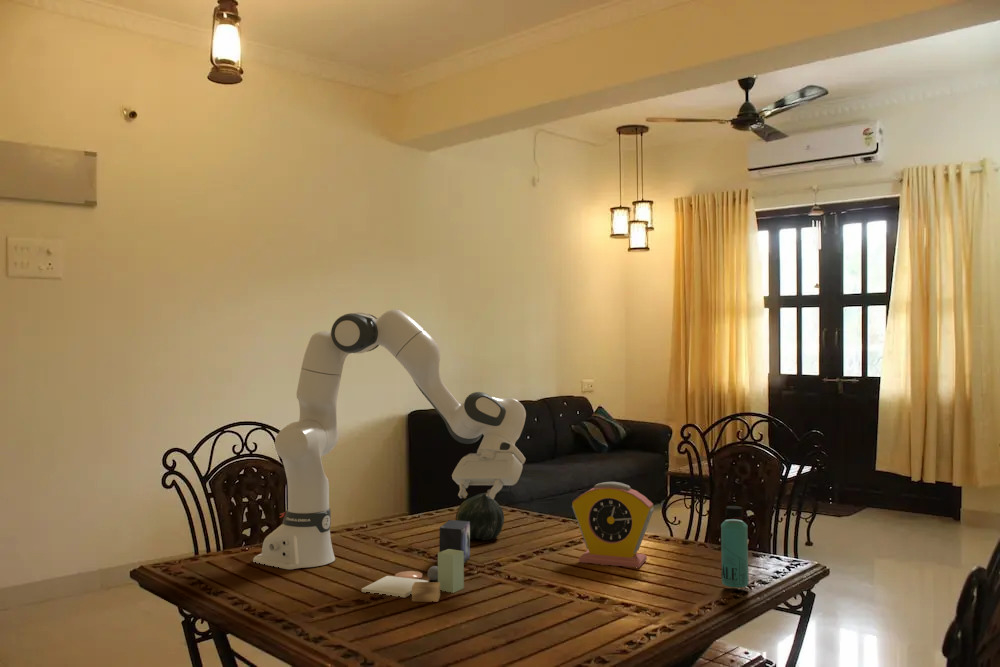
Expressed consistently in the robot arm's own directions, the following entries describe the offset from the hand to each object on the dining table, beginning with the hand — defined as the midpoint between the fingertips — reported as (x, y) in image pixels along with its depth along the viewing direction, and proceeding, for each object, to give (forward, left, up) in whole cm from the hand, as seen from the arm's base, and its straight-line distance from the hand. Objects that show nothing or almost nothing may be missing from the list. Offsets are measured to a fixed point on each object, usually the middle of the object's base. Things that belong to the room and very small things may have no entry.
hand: (475, 497), depth 209 cm
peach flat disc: (-17, -5, -21) cm, 27 cm away
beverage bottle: (+62, +13, -21) cm, 67 cm away
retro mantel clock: (+28, +28, -21) cm, 45 cm away
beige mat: (-15, -15, -20) cm, 29 cm away
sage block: (-2, -11, -20) cm, 23 cm away
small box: (-12, +12, -21) cm, 27 cm away
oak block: (-4, -20, -21) cm, 29 cm away
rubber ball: (-9, -6, -19) cm, 21 cm away
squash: (-17, +40, -21) cm, 48 cm away
